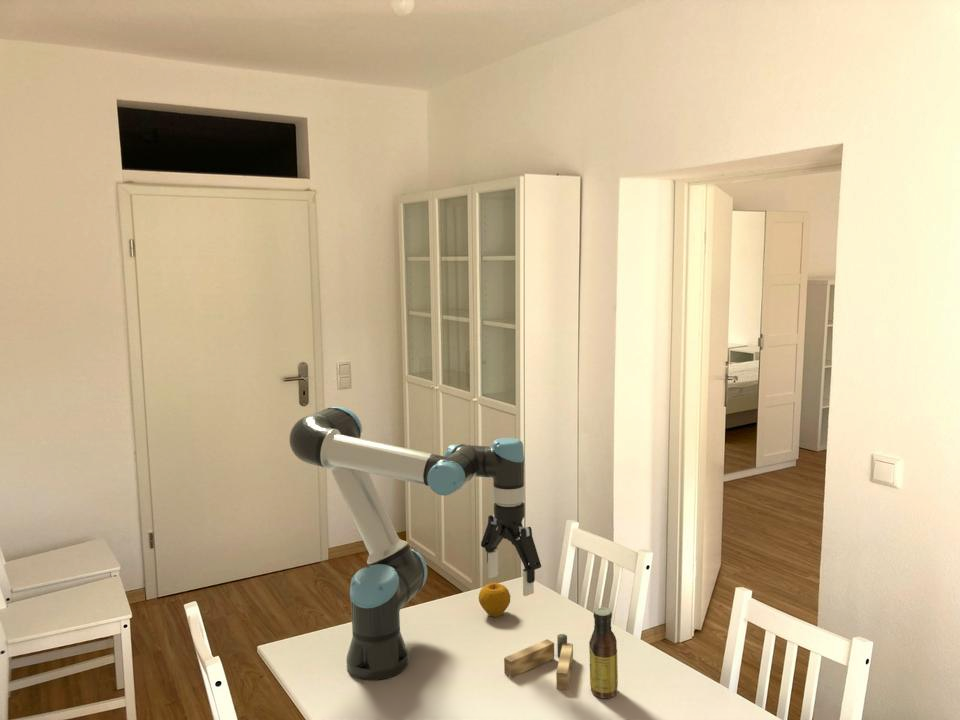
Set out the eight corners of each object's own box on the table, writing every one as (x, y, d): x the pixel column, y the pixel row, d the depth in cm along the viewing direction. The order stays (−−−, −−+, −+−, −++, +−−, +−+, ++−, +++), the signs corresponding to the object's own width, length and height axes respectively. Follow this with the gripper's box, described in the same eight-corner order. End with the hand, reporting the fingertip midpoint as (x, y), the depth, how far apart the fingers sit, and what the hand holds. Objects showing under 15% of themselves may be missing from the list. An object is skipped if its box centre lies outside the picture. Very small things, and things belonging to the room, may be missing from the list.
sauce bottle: (599, 681, 182) (598, 601, 179) (622, 690, 178) (622, 608, 175) (584, 694, 177) (583, 611, 174) (608, 703, 173) (608, 619, 170)
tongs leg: (547, 654, 195) (547, 639, 194) (554, 658, 193) (554, 642, 192) (504, 673, 186) (504, 657, 186) (511, 677, 184) (510, 661, 184)
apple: (477, 608, 221) (477, 578, 220) (509, 606, 222) (508, 576, 221) (479, 622, 213) (479, 591, 211) (512, 621, 213) (511, 590, 212)
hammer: (558, 653, 195) (557, 633, 195) (573, 654, 195) (573, 634, 194) (550, 688, 180) (550, 667, 179) (567, 689, 179) (567, 668, 178)
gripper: (555, 511, 181) (556, 597, 184) (489, 487, 201) (491, 565, 204) (531, 518, 177) (532, 606, 180) (466, 493, 197) (468, 573, 199)
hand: (510, 585), depth 192 cm, fingers open, 13 cm apart
